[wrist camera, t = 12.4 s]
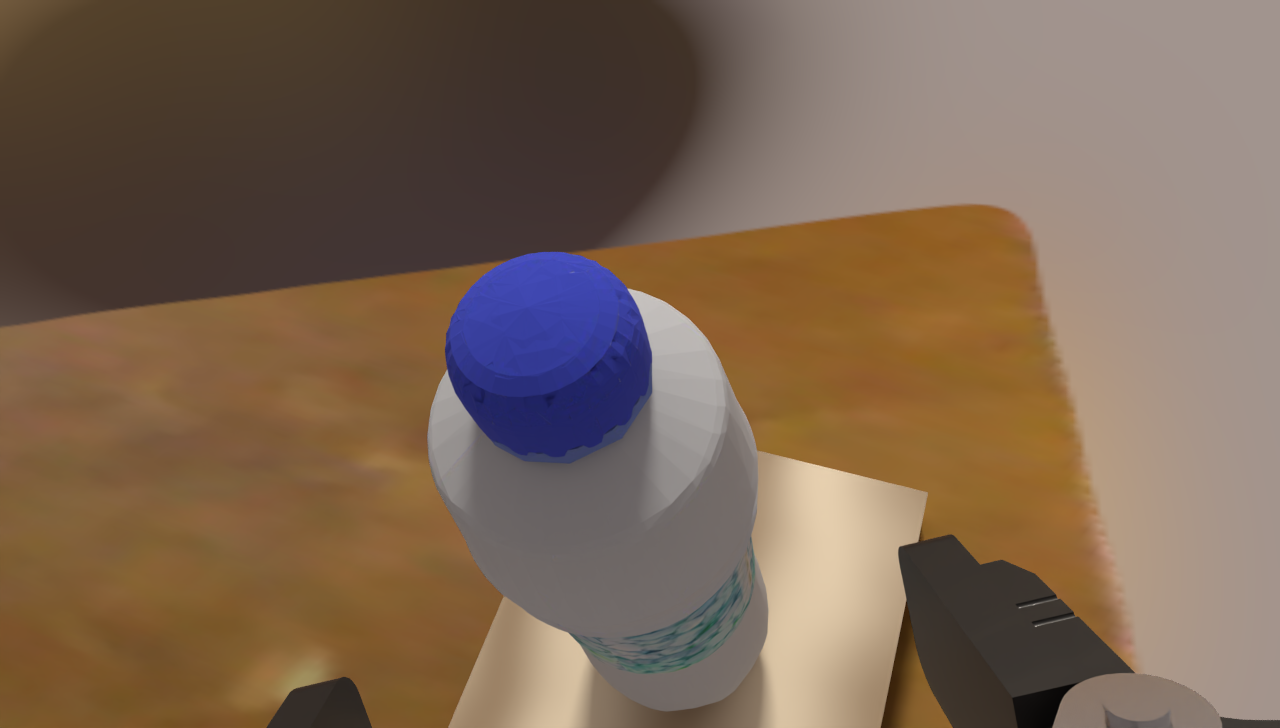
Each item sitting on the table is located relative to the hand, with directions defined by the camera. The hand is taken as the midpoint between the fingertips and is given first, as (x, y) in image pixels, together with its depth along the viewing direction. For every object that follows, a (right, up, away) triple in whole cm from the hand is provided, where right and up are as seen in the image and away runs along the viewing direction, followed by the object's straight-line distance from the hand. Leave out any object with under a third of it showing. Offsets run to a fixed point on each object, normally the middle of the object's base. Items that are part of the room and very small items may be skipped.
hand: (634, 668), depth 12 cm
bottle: (+2, -5, +18) cm, 19 cm away
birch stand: (+2, -6, +20) cm, 21 cm away
